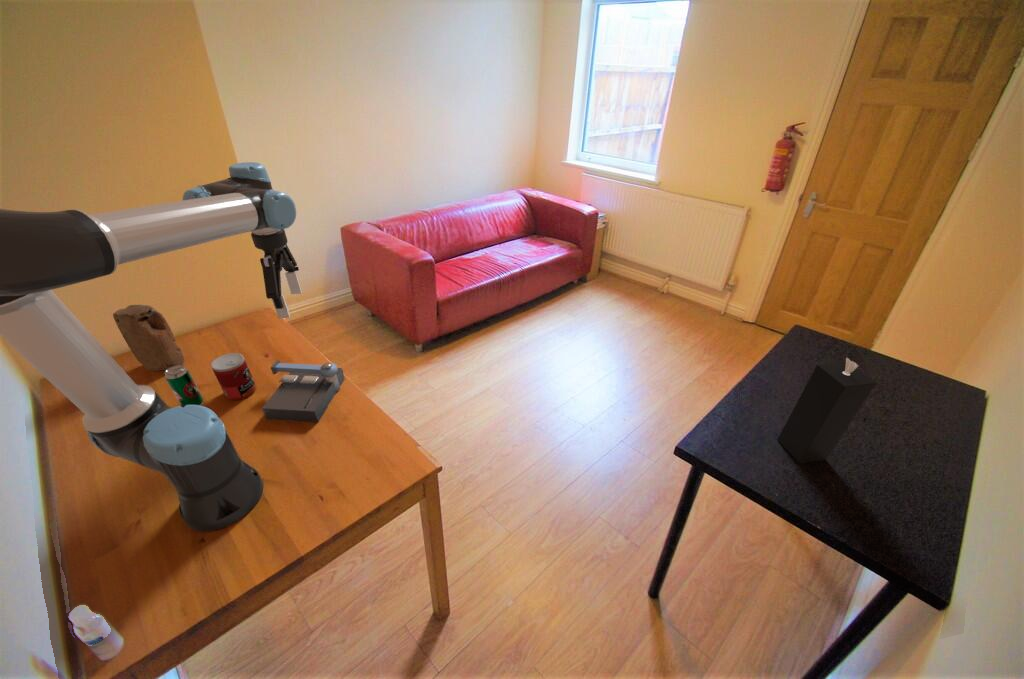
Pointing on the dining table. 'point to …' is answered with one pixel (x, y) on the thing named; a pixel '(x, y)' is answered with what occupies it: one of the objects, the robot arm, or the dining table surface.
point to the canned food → (234, 376)
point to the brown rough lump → (148, 337)
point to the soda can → (183, 386)
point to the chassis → (303, 396)
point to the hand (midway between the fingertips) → (291, 304)
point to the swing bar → (304, 368)
